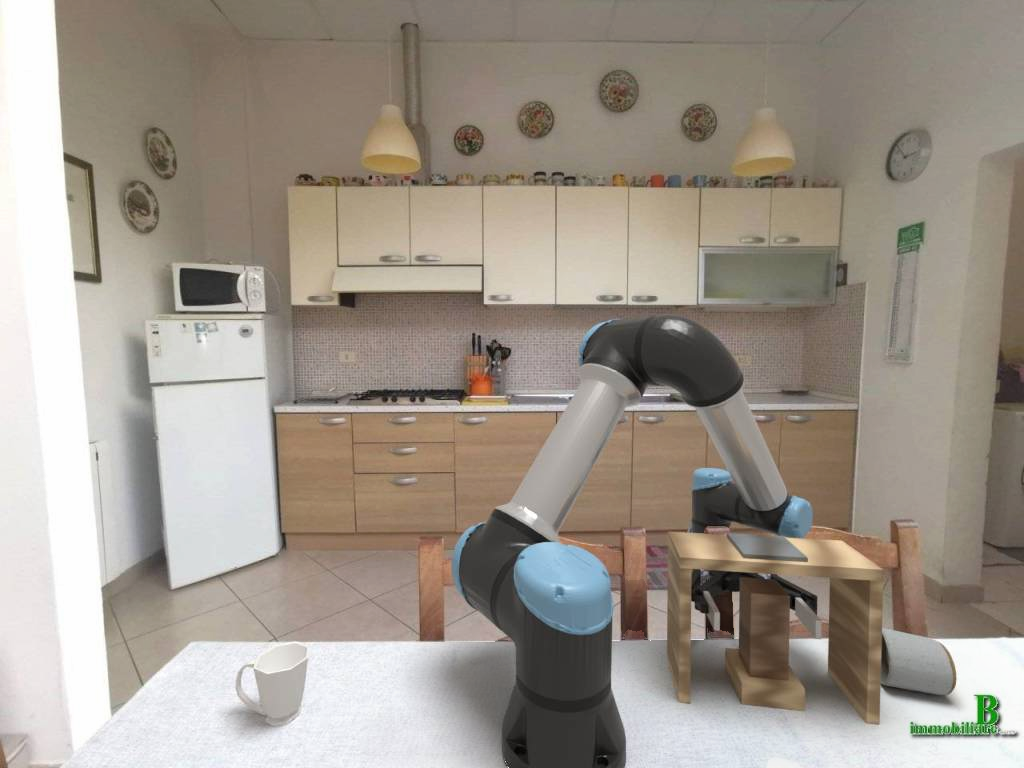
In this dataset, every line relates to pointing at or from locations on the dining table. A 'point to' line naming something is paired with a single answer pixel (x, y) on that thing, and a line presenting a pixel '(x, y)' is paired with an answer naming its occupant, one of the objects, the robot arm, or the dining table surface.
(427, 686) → the dining table surface
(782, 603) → the walnut block
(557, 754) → the robot arm
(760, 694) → the wooden side table
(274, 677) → the cup
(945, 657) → the ceramic mug
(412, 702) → the dining table surface
